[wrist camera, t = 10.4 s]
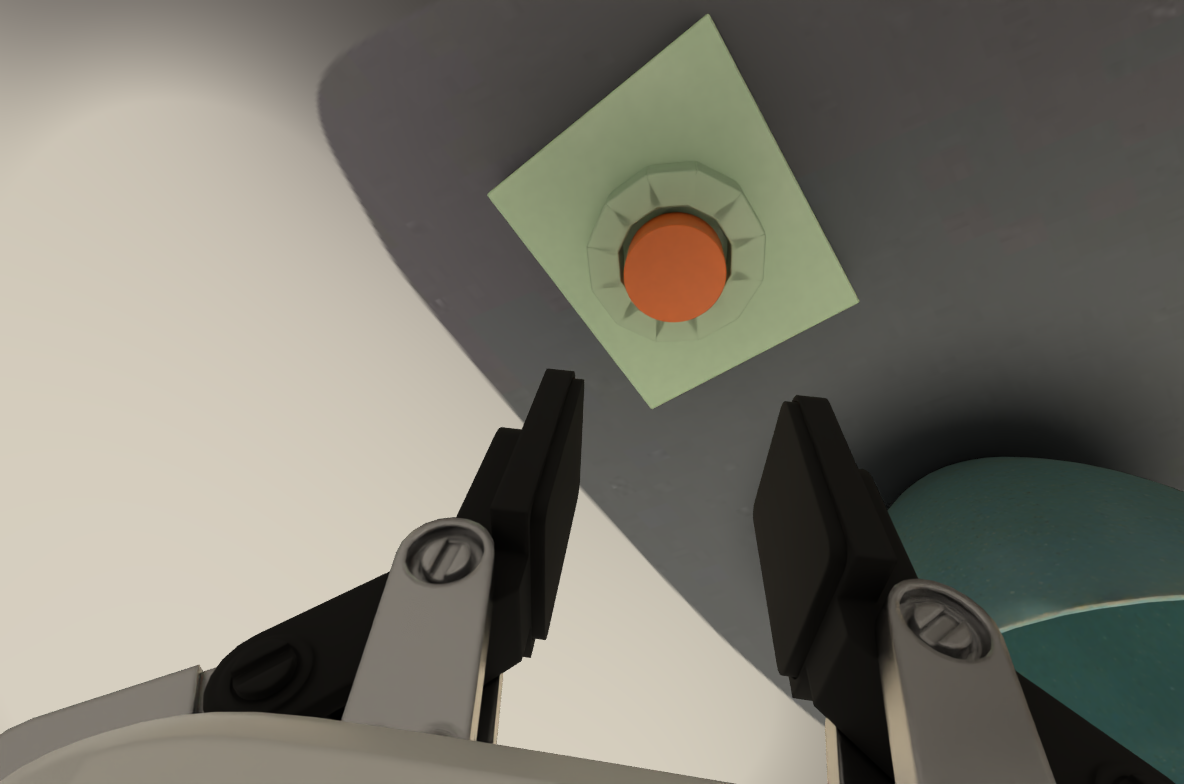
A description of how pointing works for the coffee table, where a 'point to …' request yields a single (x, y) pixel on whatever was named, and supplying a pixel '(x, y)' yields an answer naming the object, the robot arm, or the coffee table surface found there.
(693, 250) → the button
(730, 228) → the button block
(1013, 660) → the plant pot
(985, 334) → the coffee table surface
